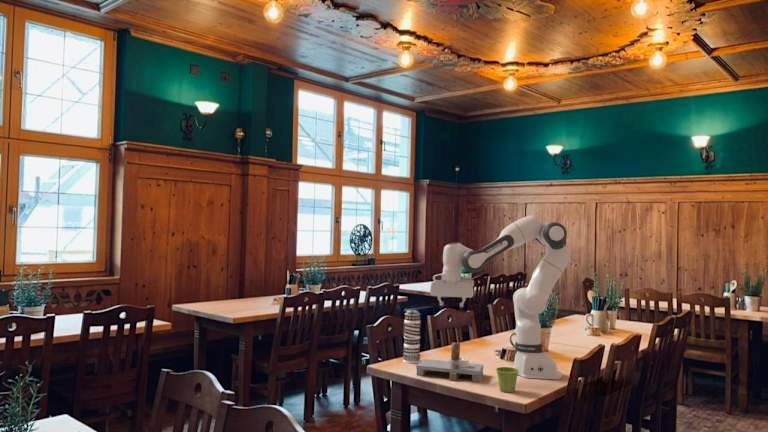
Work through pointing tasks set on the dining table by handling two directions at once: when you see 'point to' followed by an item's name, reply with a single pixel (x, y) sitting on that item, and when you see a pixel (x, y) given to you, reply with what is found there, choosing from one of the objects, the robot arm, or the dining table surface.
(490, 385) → the dining table surface
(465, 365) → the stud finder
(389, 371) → the dining table surface
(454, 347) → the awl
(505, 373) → the plant pot
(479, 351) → the dining table surface
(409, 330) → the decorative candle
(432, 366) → the grey pallet
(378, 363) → the dining table surface
